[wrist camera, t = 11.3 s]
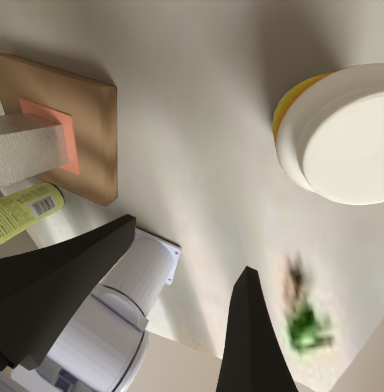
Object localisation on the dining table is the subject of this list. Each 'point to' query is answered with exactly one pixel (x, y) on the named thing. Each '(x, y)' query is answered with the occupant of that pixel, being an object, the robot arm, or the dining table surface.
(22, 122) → the steel column
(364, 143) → the supplement bottle
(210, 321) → the dining table surface
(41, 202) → the tube
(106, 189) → the board
